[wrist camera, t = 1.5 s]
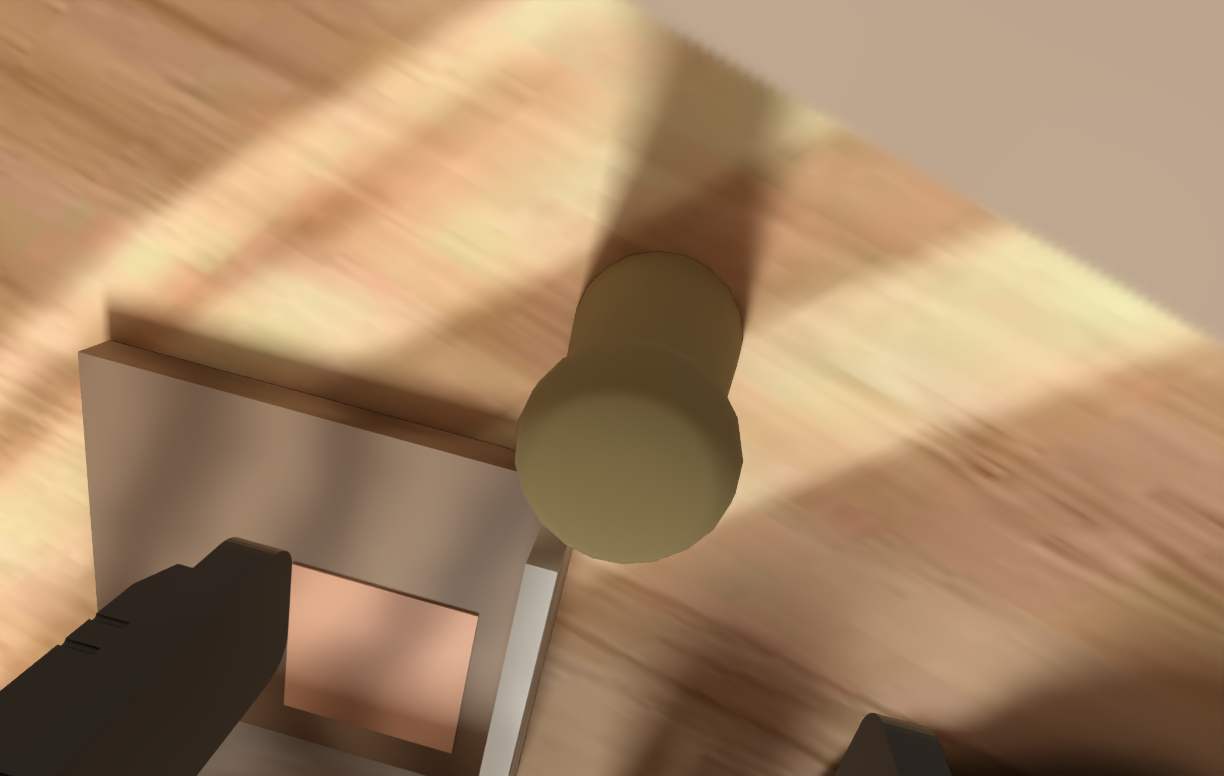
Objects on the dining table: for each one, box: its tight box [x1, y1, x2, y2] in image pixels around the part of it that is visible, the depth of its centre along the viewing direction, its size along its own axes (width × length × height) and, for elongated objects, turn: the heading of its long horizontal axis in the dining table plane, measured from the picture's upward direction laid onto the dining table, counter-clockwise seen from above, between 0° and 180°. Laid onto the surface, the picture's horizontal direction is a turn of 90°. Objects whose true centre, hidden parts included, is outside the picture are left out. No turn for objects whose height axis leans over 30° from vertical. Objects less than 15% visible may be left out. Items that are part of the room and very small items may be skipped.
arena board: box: [78, 340, 573, 776], centre depth 27 cm, size 20×18×6 cm
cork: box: [515, 251, 743, 564], centre depth 19 cm, size 6×6×11 cm
